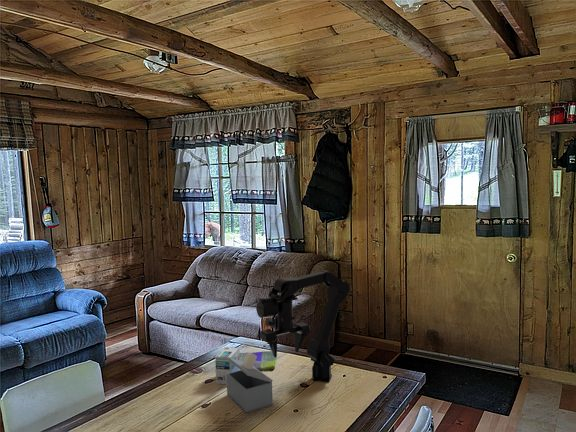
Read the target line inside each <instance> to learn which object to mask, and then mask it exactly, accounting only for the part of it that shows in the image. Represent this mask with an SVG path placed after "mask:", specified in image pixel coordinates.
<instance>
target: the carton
mask: <svg viewBox="0 0 576 432" xmlns="http://www.w3.org/2000/svg"><path fill="white" fill-rule="evenodd" d="M226 376H227V384H226V396H227V397H228V398H229V399H231V400H232V401H233V402H234V403H235V404H236V405H237V407H239V408H240V409H241V410H242V411H243V412H244V413H245V414H249V413H253V412H255V411H256V412H257V411H258V410H262V409H265V408H268V407H272V406H273V402H274V401H273V399H274V398H273V382H272V383H271V382H268V381H265V380H261V379H258V378H254V377H251V376H248V375H246V374H245V373H244V372H243V371H241V370H238V371H234V372H231V373H227V374H226Z"/></svg>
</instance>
